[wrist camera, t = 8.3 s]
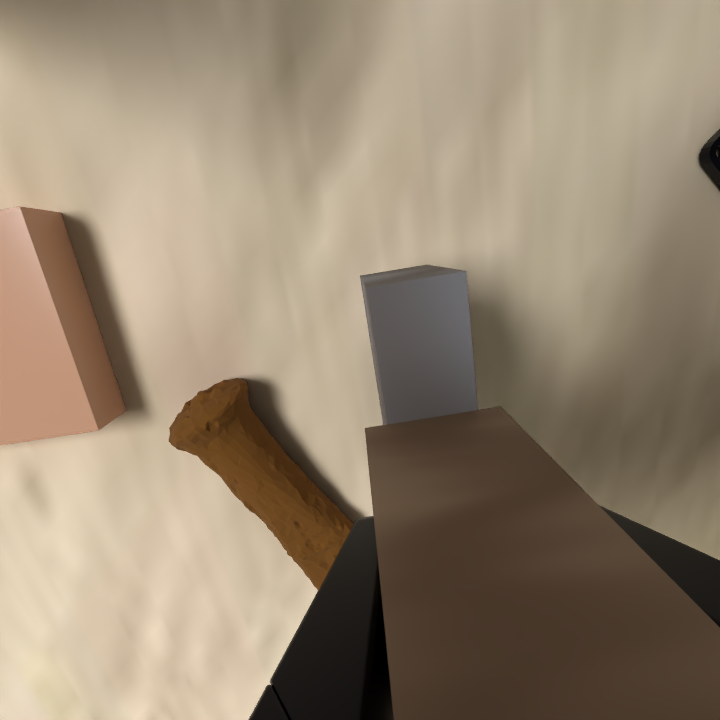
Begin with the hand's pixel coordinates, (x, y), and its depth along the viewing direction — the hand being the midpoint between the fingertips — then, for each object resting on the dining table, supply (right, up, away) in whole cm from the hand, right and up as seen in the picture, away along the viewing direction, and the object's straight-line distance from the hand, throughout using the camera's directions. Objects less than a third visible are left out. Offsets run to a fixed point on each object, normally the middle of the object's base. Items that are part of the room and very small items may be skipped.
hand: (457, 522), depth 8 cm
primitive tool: (-3, -6, +12) cm, 14 cm away
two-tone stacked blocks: (0, +1, +5) cm, 6 cm away
